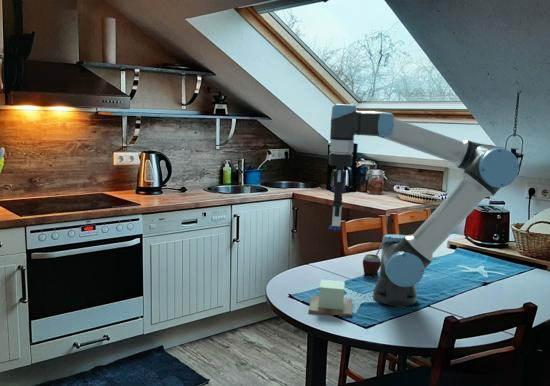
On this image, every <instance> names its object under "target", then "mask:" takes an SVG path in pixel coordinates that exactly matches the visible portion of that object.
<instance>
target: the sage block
mask: <svg viewBox="0 0 550 386" xmlns="http://www.w3.org/2000/svg"><path fill="white" fill-rule="evenodd" d="M345 282H346V281H345V280H344V281H343V280H332V279H330V280H329V279H320V283H319V293H318V296H319V306H318V308H329V309H339V310H343V301H344V298H345Z"/></svg>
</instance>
